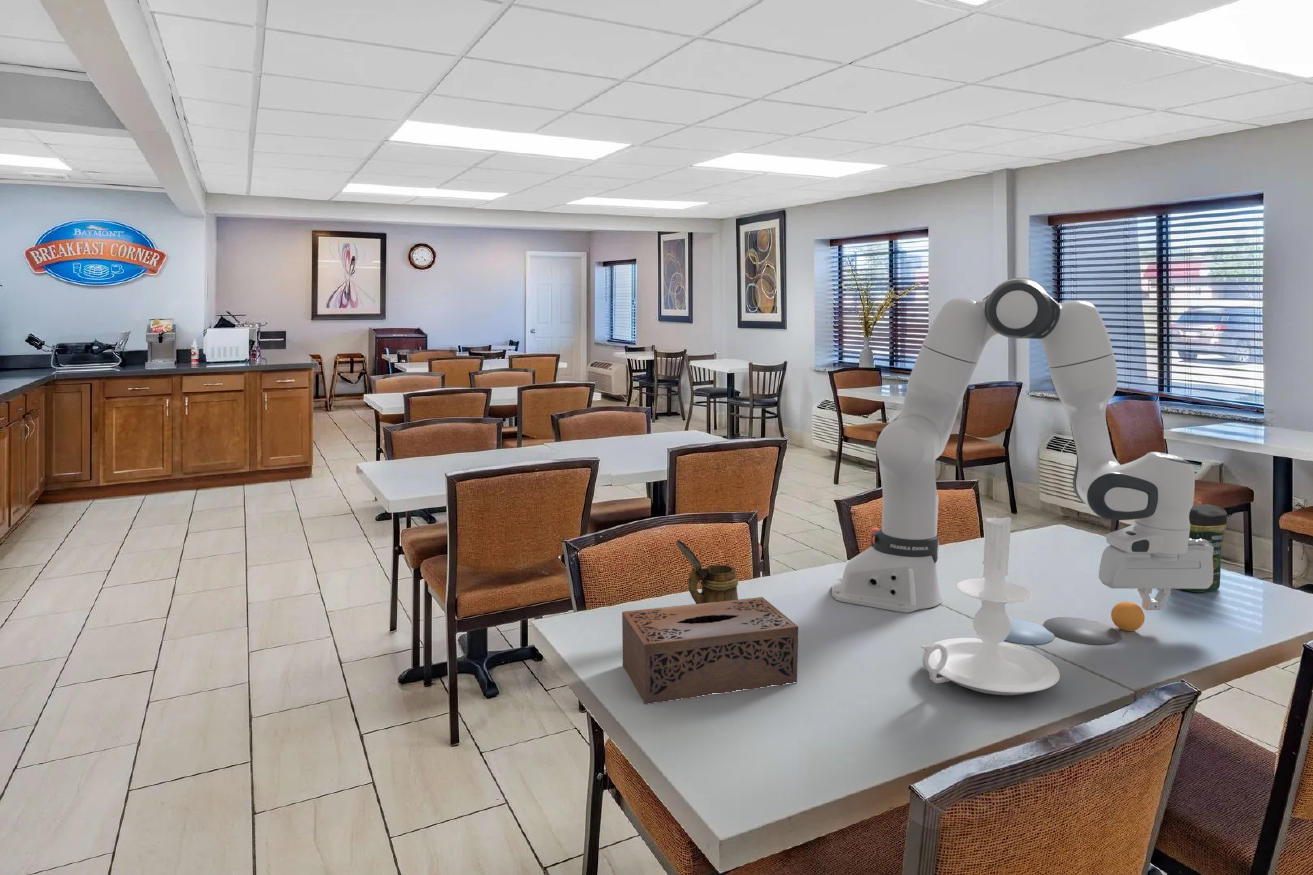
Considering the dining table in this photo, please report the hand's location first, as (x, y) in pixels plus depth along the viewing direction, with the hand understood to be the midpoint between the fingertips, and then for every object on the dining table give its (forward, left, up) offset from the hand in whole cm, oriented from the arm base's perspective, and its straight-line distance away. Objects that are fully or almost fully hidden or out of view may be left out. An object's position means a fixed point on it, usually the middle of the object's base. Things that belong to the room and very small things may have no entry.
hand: (1151, 609), depth 152 cm
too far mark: (-24, -9, -4) cm, 26 cm away
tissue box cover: (-75, -45, -5) cm, 88 cm away
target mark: (-13, -5, -4) cm, 14 cm away
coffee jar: (+15, +30, -4) cm, 34 cm away
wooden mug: (-81, -24, -4) cm, 84 cm away
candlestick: (-33, -35, -4) cm, 48 cm away
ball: (-4, -2, -1) cm, 5 cm away
